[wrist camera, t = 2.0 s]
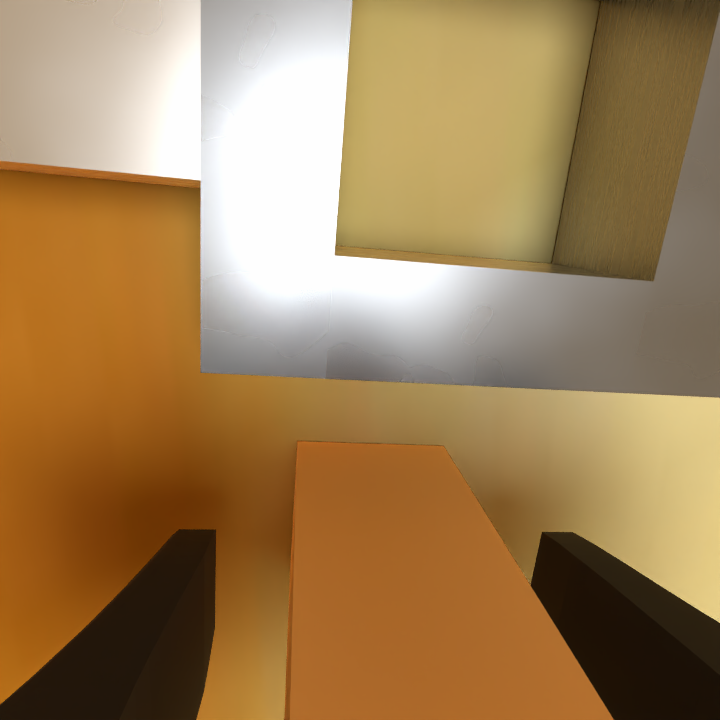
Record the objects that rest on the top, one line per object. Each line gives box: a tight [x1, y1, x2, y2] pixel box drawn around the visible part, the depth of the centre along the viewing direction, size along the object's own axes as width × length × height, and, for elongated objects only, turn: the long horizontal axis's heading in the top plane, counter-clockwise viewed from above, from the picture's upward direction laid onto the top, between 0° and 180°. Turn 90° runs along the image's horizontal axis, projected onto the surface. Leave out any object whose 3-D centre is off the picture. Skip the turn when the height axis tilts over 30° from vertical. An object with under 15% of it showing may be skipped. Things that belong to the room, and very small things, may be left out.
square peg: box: [284, 441, 614, 720], centre depth 7 cm, size 3×3×8 cm
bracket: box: [0, 0, 720, 398], centre depth 7 cm, size 15×8×3 cm, turn 85°
